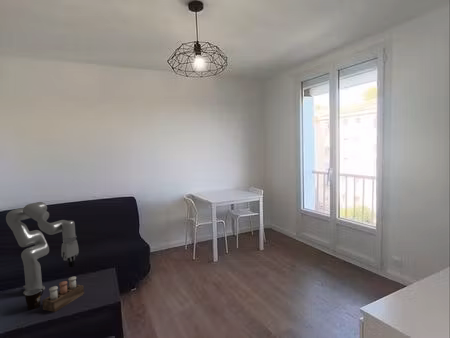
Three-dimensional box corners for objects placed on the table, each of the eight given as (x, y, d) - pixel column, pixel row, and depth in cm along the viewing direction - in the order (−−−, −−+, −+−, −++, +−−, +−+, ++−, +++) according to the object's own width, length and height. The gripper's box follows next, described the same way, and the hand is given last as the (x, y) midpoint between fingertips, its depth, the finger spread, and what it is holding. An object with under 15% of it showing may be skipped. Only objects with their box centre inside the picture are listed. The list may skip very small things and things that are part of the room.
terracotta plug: (57, 296, 180) (57, 284, 179) (64, 292, 184) (63, 280, 184) (63, 297, 178) (62, 285, 178) (69, 293, 183) (69, 281, 182)
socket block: (43, 309, 173) (42, 300, 172) (72, 292, 193) (72, 283, 193) (55, 312, 169) (54, 302, 169) (84, 294, 190) (83, 285, 190)
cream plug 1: (47, 301, 173) (46, 289, 173) (54, 297, 178) (53, 285, 177) (53, 302, 171) (52, 290, 171) (60, 298, 176) (59, 286, 175)
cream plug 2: (67, 290, 186) (66, 279, 186) (73, 287, 191) (72, 276, 190) (72, 291, 185) (71, 280, 184) (78, 288, 189) (77, 276, 189)
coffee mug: (29, 312, 170) (28, 296, 169) (23, 308, 174) (21, 293, 174) (49, 303, 180) (48, 288, 179) (43, 300, 184) (42, 285, 184)
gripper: (74, 236, 194) (76, 261, 195) (55, 242, 180) (57, 270, 181) (82, 236, 191) (85, 262, 192) (63, 243, 177) (66, 271, 178)
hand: (71, 266), depth 187 cm, fingers closed
